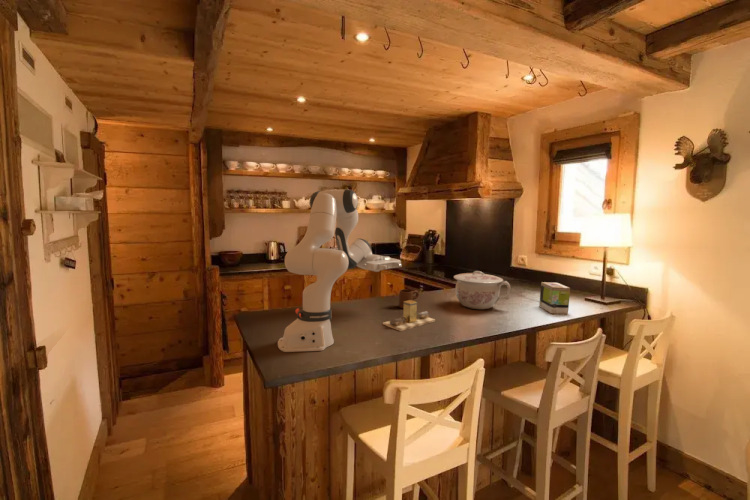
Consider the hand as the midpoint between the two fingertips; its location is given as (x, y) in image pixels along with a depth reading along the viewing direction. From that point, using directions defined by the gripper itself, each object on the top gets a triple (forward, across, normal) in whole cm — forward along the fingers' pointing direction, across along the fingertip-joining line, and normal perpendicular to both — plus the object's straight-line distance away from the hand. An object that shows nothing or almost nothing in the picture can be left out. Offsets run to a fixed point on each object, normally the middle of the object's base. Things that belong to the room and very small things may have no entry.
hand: (394, 266), depth 187 cm
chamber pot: (+14, +53, +26) cm, 61 cm away
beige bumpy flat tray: (+12, 0, +26) cm, 29 cm away
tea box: (+45, +82, +26) cm, 97 cm away
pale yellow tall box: (+12, 0, +25) cm, 28 cm away
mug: (-9, +21, +26) cm, 35 cm away
